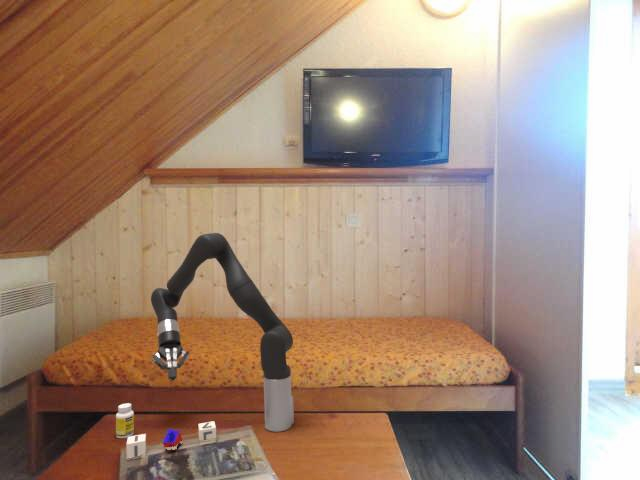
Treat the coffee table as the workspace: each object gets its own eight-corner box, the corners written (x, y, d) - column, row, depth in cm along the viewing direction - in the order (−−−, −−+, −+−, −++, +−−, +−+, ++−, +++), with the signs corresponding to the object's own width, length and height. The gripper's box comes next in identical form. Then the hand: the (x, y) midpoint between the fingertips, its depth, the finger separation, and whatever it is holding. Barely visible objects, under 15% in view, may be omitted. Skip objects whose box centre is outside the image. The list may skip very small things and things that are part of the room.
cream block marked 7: (214, 436, 131) (214, 420, 131) (216, 443, 126) (215, 427, 126) (198, 439, 129) (198, 423, 129) (199, 446, 124) (199, 430, 124)
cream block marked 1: (146, 449, 123) (145, 433, 123) (145, 458, 119) (145, 440, 119) (128, 453, 122) (127, 436, 122) (126, 461, 117) (126, 444, 117)
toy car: (166, 453, 124) (160, 436, 120) (172, 441, 127) (166, 424, 124) (177, 454, 123) (171, 436, 120) (183, 441, 127) (177, 424, 123)
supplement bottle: (126, 439, 130) (126, 409, 130) (112, 438, 131) (111, 408, 131) (137, 431, 135) (137, 402, 136) (123, 430, 137) (122, 401, 137)
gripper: (150, 330, 141) (153, 376, 131) (189, 327, 148) (194, 371, 137) (148, 341, 146) (150, 387, 135) (185, 338, 152) (191, 381, 142)
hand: (173, 379), depth 136 cm, fingers closed
